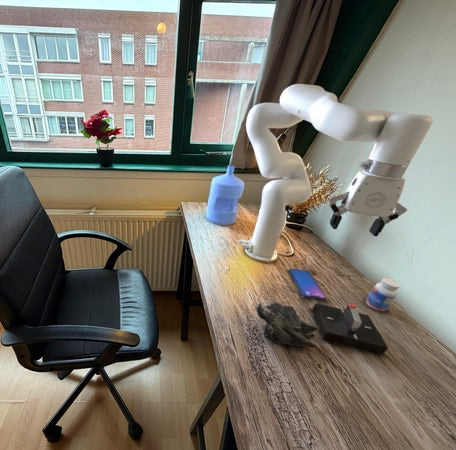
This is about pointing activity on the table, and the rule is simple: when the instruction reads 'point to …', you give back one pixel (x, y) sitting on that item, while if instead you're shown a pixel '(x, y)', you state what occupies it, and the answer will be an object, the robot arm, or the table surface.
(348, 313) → the tap handle
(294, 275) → the smartphone
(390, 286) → the pill bottle
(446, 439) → the table surface
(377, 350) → the plate
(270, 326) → the mineral specimen
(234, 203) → the water jug
